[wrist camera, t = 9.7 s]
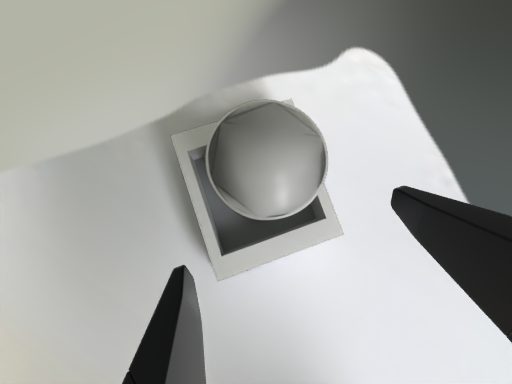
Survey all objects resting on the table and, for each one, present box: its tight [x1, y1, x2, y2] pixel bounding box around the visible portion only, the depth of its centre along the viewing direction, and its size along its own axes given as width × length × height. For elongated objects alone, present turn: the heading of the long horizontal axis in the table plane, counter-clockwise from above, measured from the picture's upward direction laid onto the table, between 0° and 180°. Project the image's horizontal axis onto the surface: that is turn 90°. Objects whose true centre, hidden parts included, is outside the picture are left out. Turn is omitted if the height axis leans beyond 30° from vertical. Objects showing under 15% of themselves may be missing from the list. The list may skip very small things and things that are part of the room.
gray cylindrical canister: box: [206, 100, 328, 220], centre depth 15 cm, size 5×5×10 cm
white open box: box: [171, 99, 344, 282], centre depth 19 cm, size 11×10×4 cm
